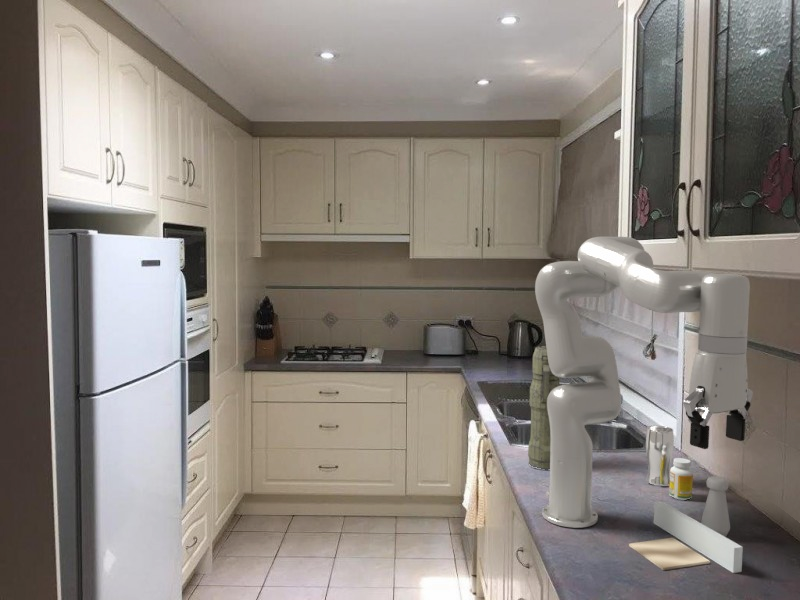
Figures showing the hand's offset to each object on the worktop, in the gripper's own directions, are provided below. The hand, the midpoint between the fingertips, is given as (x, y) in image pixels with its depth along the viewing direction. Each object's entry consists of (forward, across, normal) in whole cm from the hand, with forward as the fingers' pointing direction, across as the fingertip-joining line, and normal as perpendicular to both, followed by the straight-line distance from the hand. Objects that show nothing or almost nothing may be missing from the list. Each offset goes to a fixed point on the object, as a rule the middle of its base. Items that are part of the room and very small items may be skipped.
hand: (717, 442), depth 113 cm
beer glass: (+30, -42, -46) cm, 69 cm away
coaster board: (+29, -9, -16) cm, 35 cm away
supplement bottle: (+30, -39, -36) cm, 61 cm away
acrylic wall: (+29, -18, -16) cm, 38 cm away
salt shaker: (+30, -26, -17) cm, 43 cm away
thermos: (+30, -24, -71) cm, 81 cm away
